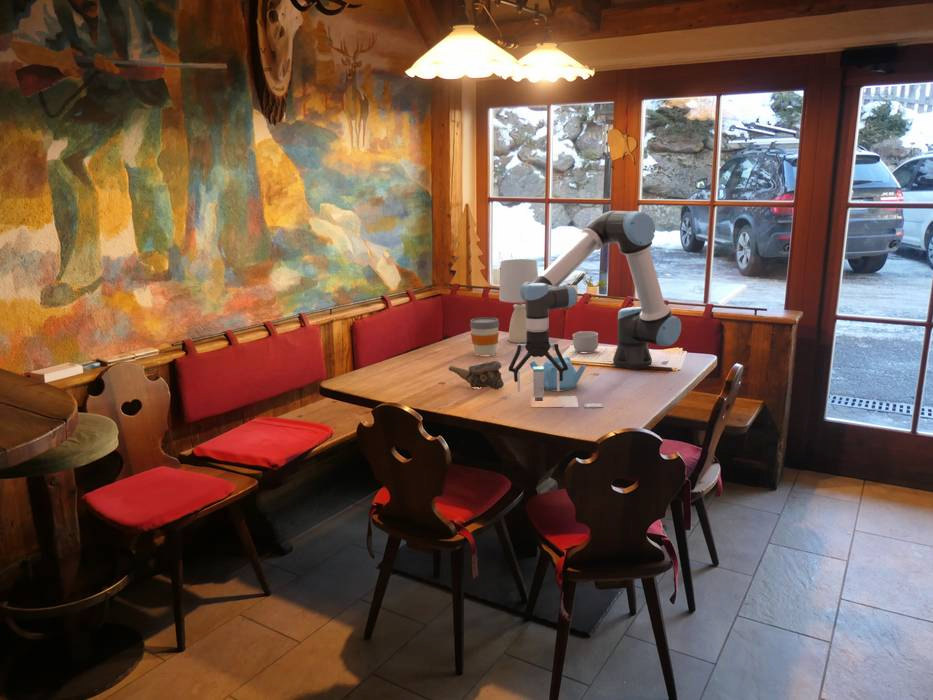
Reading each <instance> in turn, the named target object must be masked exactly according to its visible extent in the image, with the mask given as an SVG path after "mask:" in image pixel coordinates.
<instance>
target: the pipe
mask: <svg viewBox="0 0 933 700" xmlns="http://www.w3.org/2000/svg"><path fill="white" fill-rule="evenodd" d="M501 368H502V364H501V362H500V361H498V360H492V361H486V362H484V363H480V364H478V363H477V364H475V365H471V366H468V369H465V368H461V367H456V366H453V365H450V366H449V367H448V371H450V372H453V373H454V374H457V375H458V376H459V377H460V378H461V379H462V380H464V381H466V382H467V383H468V384H469V386H471V387H479V388H480V387H482V388H487V387H489V388H490V389H492V388H494V389H493V390H499V388H500V389H501V388H503V387H504V381H503V378H502V373H501V372H500V369H501ZM471 387H470V388H471Z"/></svg>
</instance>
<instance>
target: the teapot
mask: <svg viewBox="0 0 933 700" xmlns="http://www.w3.org/2000/svg"><path fill="white" fill-rule="evenodd" d="M553 358H554V359H555V360H556V362H557V363H558V364H559V365H560V366H561V367H563V365H562V363H561V361H560V360H559V358H558V356H557V355H556V356H555V355H554V356H553ZM563 358H564V360H565V362H566V364H567V366H568V370H565V371H563V380H562V381H559V384H560V390H564V391H569V390H572V389H573V388H575V387H576V385H578V382H579V381H580V379H581V377H582V376H583V373H584V372H585V370H586V367H587V365H583V364H581V365H580V367H578V369H577V371H576V368H575V367H574V366H573V364H572V362H571V357H570V356H564V357H563ZM529 366H530V367H531V369H532V370H533V367H540V366H539V365H538V364H537V362H536V361H535V360H533V361H531V362H530V363H529ZM542 366H543V368H544V390H546V389H548V390H547V391H552V390H557V371H558V369H557V368H556V367H555V366H554V365H553V364H552V363H551V362H550V360H549V359H548V360H546V361H545V362H544V363H543V365H542Z"/></svg>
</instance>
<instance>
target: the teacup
mask: <svg viewBox="0 0 933 700" xmlns="http://www.w3.org/2000/svg"><path fill="white" fill-rule="evenodd" d="M572 343H573V349H574V350H575V351H577V352H578V353H579V352H591V353H593V352H595V350H597V349H598V346H599V333H598V332H596V331H587V330H586V331H582V330H581V331H577V332H575V333H573V334H572Z"/></svg>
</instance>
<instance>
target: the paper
mask: <svg viewBox="0 0 933 700" xmlns="http://www.w3.org/2000/svg"><path fill="white" fill-rule="evenodd" d="M558 397H559V398H558V399H560V400H561V401H563V402H559V403H561V404H565V405H564V406H565V407H564V408H579V402H578V398H577V396H575V395H570V396H569V395H568V396H567V395H566V396H560V395H559V396H558Z"/></svg>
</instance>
